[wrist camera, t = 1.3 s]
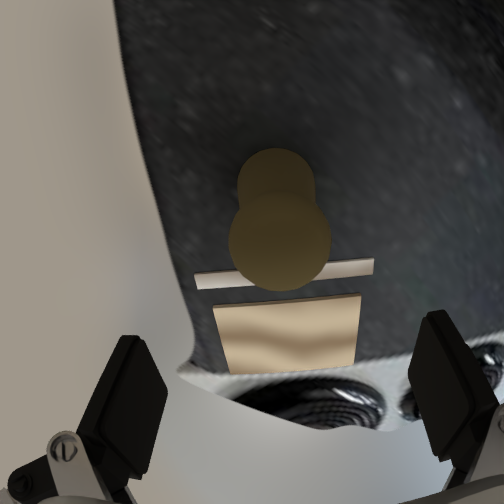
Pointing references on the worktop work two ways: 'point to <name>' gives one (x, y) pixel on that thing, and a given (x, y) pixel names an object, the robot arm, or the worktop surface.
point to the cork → (278, 222)
